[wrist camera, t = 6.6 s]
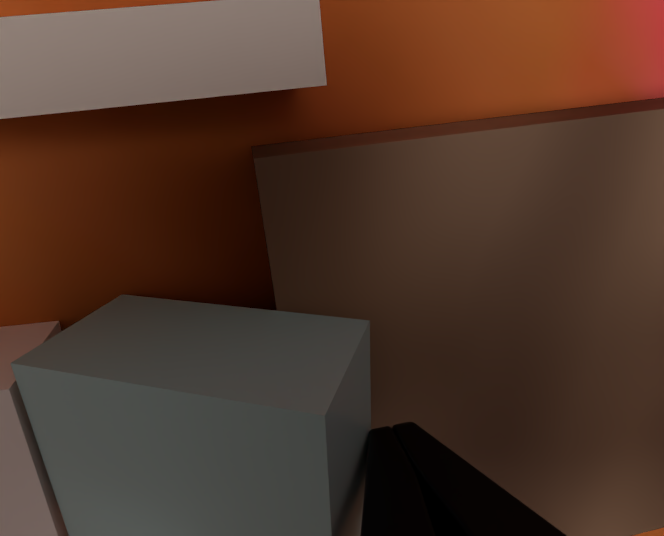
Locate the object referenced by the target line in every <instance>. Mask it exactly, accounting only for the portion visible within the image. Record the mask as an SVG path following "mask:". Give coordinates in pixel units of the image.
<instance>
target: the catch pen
mask: <svg viewBox="0 0 664 536" xmlns="http://www.w3.org/2000/svg"><path fill="white" fill-rule="evenodd" d="M325 85H327V81H326V70H325V59H324V47H323V36H322V25H321V14H320V3H319V0H217V1H204V2H191V3H178V4H165V5H152V6H139V7H126V8H113V9H100V10H87V11H74V12H61V13H48V14H35V15H22V16H9V17H0V119H6V118H15V117H25V116H35V115H44V114H54V113H64V112H73V111H83V110H93V109H102V108H112V107H122V106H131V105H141V104H151V103H160V102H170V101H180V100H189V99H199V98H209V97H218V96H228V95H238V94H247V93H257V92H267V91H276V90H286V89H296V88H305V87H315V86H325Z"/></svg>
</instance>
